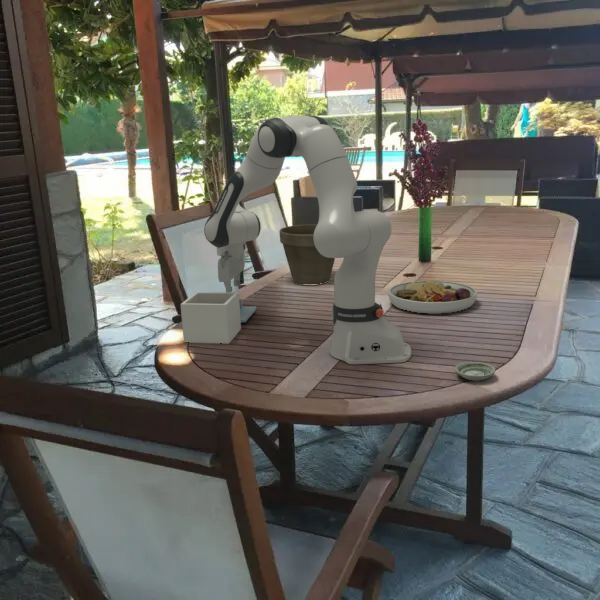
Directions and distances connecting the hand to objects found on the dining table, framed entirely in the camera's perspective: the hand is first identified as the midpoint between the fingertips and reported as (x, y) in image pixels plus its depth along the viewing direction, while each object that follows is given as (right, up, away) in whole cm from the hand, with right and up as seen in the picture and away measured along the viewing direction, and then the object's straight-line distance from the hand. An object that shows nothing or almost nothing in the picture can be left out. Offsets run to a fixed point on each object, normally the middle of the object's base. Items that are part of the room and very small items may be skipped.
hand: (233, 289), depth 218 cm
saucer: (+66, -23, -59) cm, 91 cm away
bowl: (+69, -6, +6) cm, 69 cm away
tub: (-4, -15, -20) cm, 25 cm away
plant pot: (+28, +4, +43) cm, 51 cm away
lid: (-1, -9, -3) cm, 9 cm away
